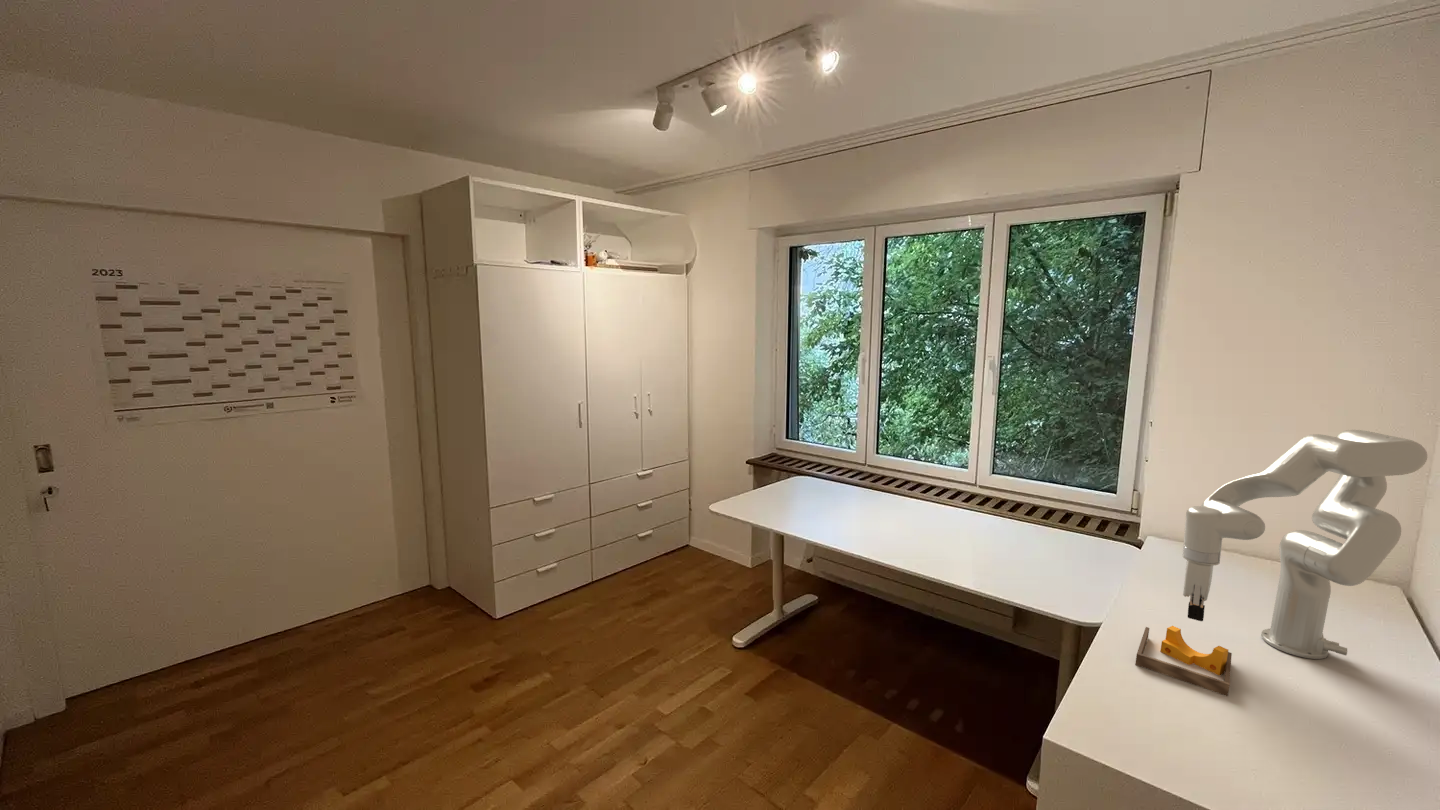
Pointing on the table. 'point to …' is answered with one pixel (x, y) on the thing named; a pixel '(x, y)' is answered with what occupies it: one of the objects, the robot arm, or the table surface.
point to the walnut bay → (1183, 670)
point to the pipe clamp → (1193, 653)
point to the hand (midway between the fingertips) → (1195, 618)
